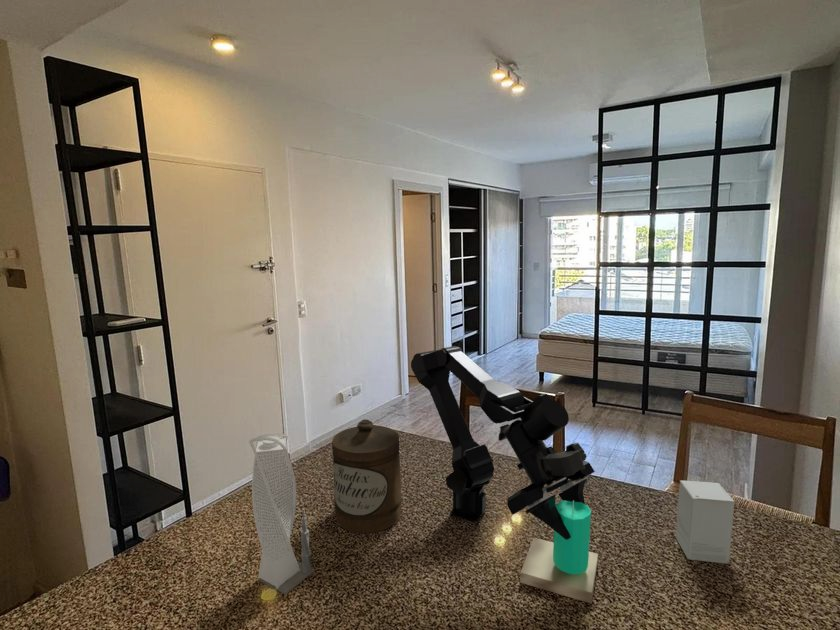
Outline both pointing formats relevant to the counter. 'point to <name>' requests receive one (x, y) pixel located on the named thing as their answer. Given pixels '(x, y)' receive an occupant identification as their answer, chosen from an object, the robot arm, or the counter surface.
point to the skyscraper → (277, 515)
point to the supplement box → (704, 521)
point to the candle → (573, 538)
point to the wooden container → (367, 478)
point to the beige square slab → (557, 573)
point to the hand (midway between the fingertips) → (578, 532)
